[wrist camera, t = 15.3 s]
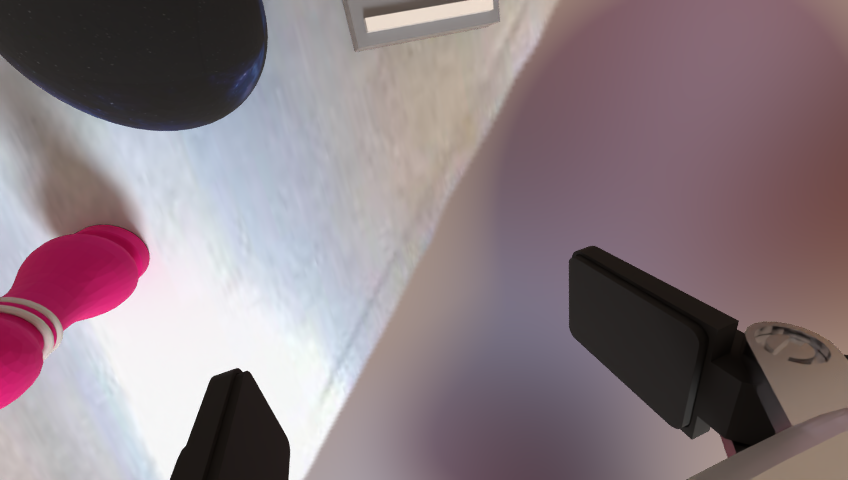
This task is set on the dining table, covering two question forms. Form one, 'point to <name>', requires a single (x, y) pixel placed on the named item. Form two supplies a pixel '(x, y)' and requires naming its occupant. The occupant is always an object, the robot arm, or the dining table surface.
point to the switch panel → (414, 19)
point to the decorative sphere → (139, 56)
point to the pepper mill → (63, 297)
